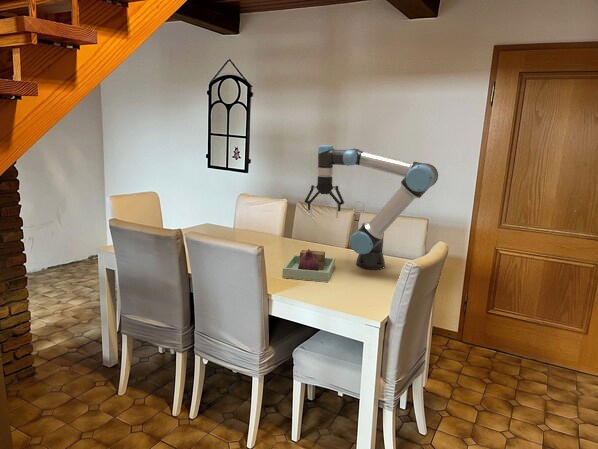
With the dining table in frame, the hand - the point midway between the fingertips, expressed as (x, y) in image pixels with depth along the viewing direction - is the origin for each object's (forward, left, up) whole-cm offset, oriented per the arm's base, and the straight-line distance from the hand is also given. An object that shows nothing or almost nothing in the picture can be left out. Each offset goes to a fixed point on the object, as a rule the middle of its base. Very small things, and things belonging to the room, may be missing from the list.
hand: (323, 217), depth 238 cm
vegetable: (+4, +19, -25) cm, 32 cm away
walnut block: (+4, +8, -25) cm, 27 cm away
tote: (+4, +15, -26) cm, 30 cm away
